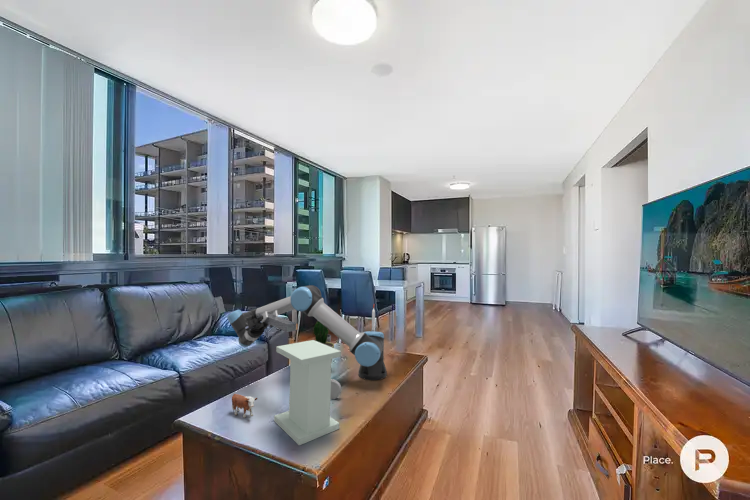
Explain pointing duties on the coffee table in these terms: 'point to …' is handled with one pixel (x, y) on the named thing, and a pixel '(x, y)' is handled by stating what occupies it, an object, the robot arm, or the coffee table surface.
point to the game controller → (335, 389)
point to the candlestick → (373, 319)
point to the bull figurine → (242, 403)
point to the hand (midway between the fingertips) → (271, 313)
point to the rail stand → (308, 391)
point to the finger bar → (280, 323)
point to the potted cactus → (322, 334)
